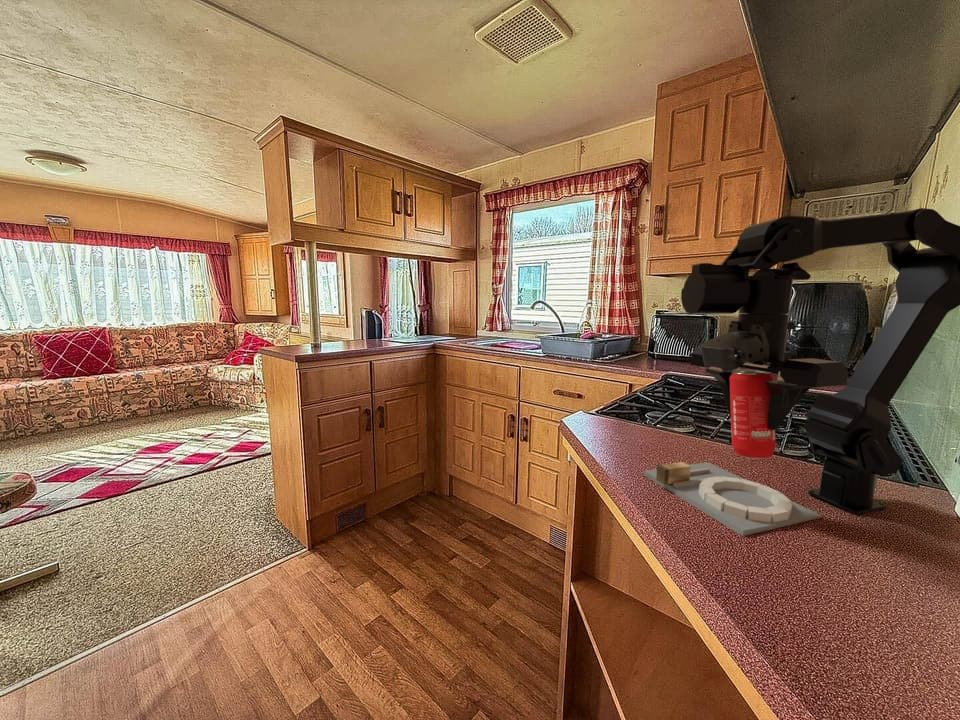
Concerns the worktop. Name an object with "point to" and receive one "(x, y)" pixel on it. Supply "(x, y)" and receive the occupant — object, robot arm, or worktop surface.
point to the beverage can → (751, 414)
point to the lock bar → (673, 473)
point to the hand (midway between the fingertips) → (751, 423)
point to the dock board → (736, 500)
